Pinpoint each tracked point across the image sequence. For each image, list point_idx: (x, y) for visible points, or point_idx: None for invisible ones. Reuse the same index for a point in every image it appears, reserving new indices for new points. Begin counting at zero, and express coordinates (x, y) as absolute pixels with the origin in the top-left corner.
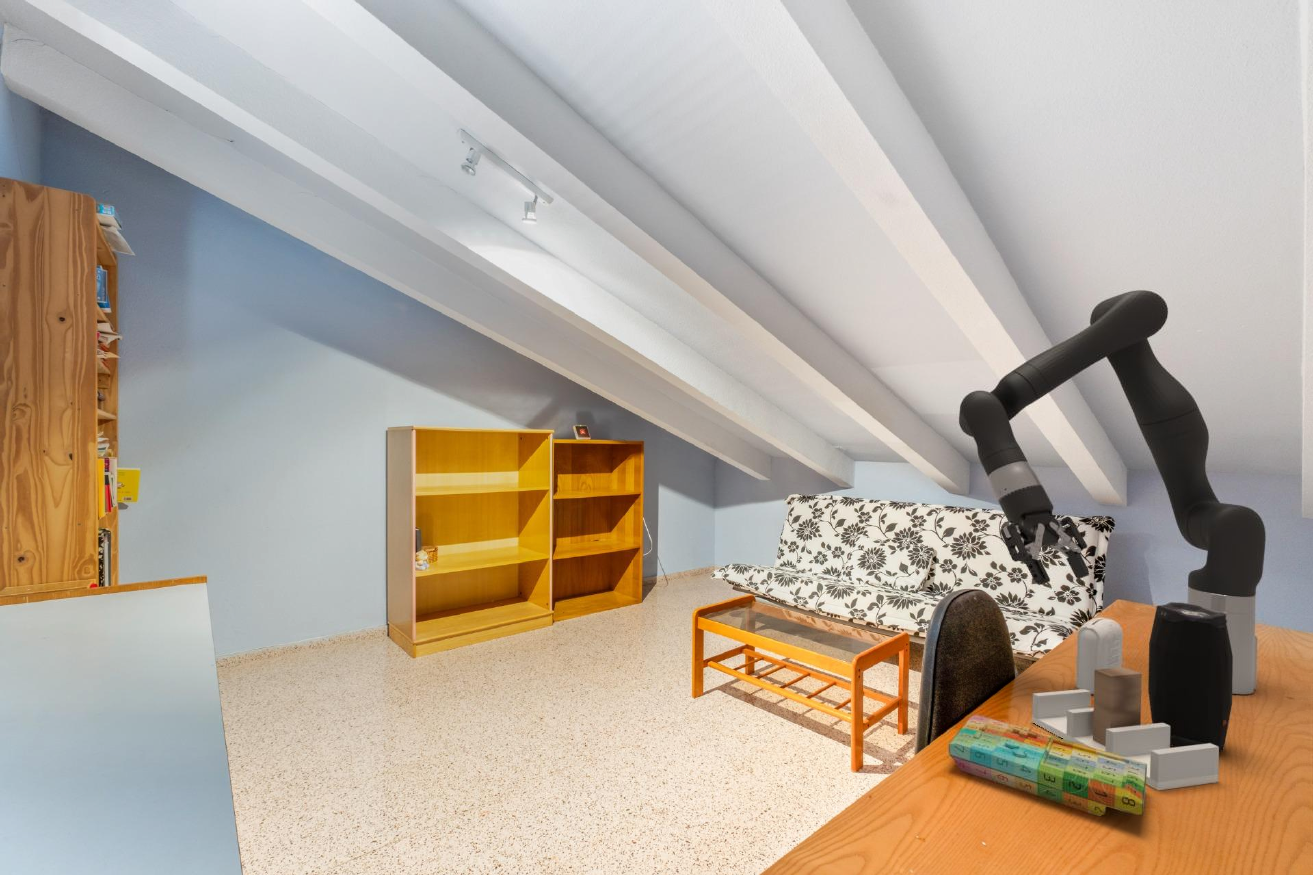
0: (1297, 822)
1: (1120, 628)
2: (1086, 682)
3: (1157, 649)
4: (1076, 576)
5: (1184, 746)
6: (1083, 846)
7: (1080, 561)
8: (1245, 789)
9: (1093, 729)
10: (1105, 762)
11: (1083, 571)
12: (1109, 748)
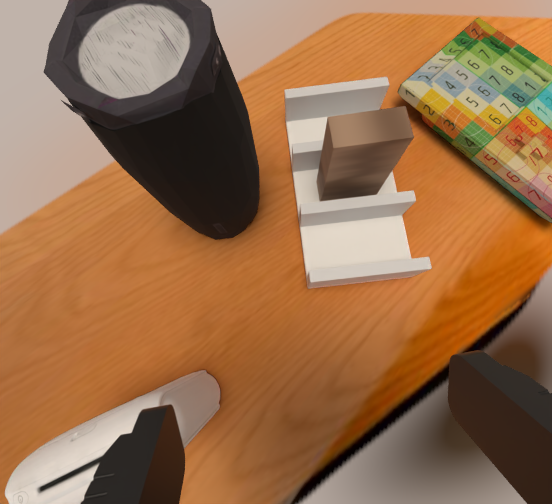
0: (280, 57)
1: (29, 456)
2: (213, 388)
3: (246, 132)
4: (182, 468)
5: (331, 92)
6: (531, 36)
7: (135, 488)
8: (268, 106)
9: (378, 190)
10: (455, 86)
11: (167, 427)
12: None
